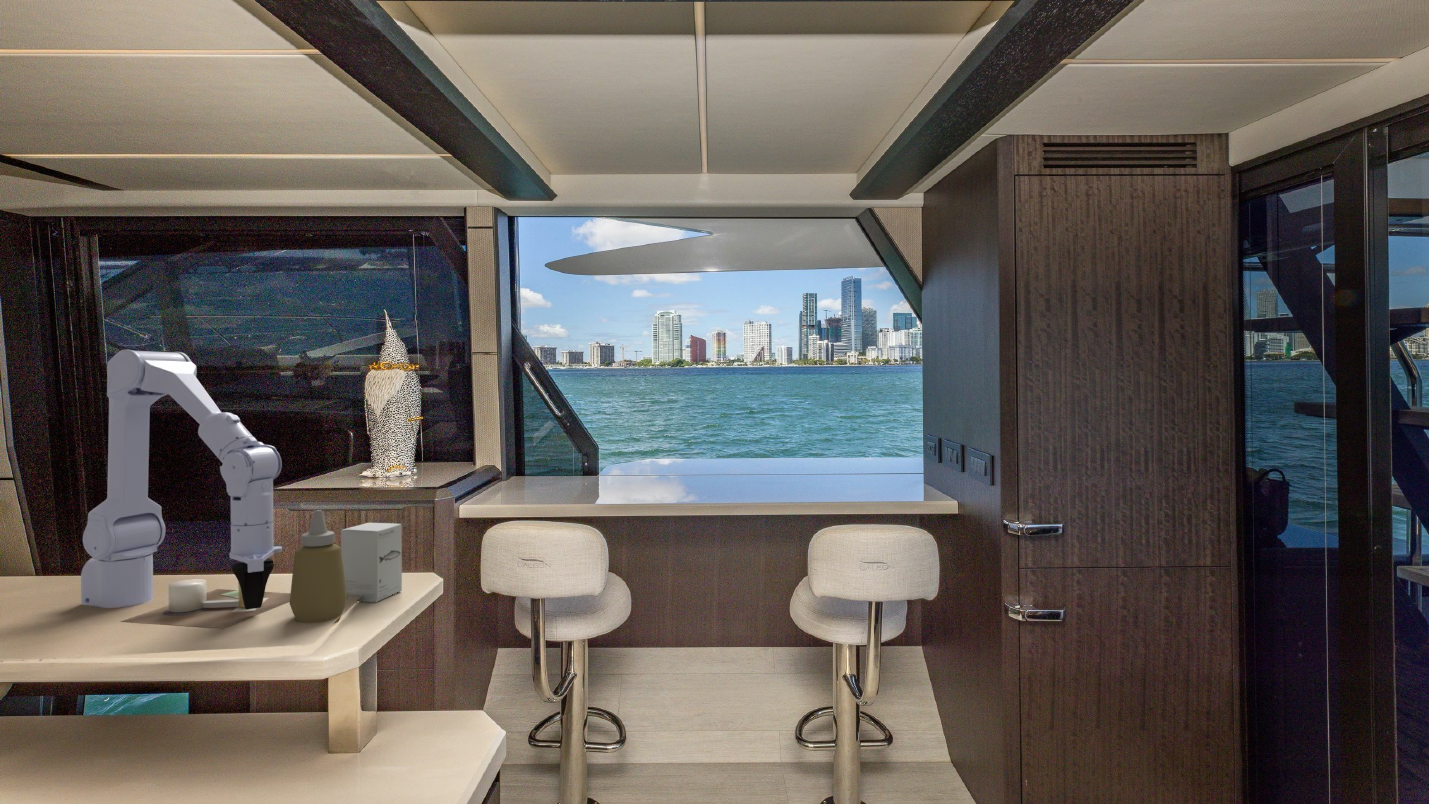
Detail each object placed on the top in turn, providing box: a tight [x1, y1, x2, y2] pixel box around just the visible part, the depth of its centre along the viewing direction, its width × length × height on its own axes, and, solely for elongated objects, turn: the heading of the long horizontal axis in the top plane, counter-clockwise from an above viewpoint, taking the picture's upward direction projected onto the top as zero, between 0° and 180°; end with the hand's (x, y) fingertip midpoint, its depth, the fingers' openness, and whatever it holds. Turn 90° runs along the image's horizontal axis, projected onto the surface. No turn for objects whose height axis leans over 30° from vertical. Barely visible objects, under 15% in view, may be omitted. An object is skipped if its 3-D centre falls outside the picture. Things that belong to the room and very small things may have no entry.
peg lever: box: [168, 578, 245, 612], centre depth 119 cm, size 13×5×5 cm, turn 101°
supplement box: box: [340, 522, 403, 603], centre depth 131 cm, size 7×7×13 cm
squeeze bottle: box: [288, 509, 348, 625], centre depth 116 cm, size 8×8×18 cm
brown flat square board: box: [119, 588, 291, 630], centre depth 120 cm, size 18×18×1 cm
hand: (253, 607), depth 116 cm, fingers closed
